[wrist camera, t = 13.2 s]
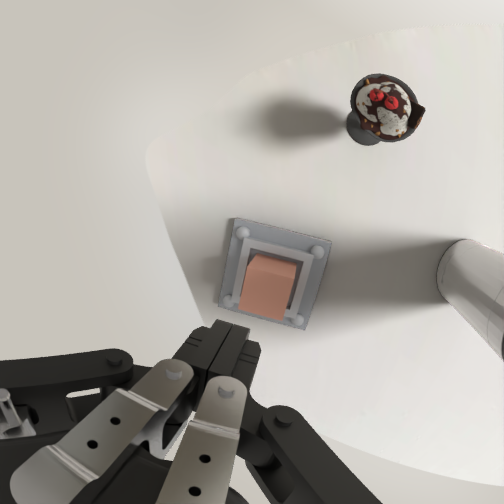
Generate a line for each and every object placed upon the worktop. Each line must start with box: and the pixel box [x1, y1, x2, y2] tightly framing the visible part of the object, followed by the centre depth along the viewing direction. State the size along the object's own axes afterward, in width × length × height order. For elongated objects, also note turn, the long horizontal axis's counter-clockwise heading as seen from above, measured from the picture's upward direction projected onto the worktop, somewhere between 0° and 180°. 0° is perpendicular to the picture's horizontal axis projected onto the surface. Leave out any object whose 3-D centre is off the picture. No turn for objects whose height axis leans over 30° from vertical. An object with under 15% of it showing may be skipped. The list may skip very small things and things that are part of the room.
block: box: [238, 253, 297, 321], centre depth 34 cm, size 5×5×6 cm
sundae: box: [347, 74, 425, 146], centre depth 24 cm, size 7×7×15 cm
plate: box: [218, 218, 332, 330], centre depth 37 cm, size 12×12×2 cm
